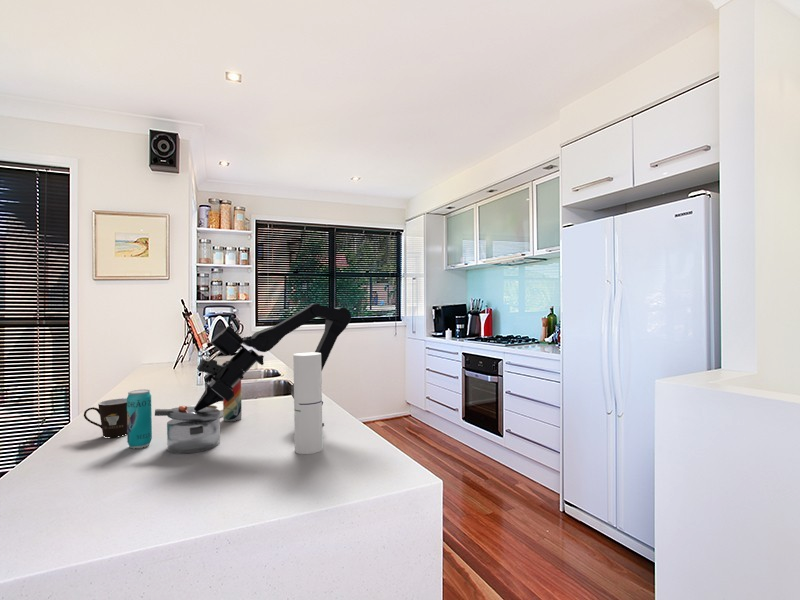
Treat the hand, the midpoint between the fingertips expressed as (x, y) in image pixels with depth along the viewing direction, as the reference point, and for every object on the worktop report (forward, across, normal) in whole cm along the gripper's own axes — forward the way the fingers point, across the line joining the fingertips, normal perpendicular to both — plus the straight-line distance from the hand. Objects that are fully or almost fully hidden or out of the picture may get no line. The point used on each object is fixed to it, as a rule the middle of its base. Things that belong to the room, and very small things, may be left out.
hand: (195, 410), depth 119 cm
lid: (+2, 0, 0) cm, 2 cm away
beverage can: (+16, -8, -2) cm, 18 cm away
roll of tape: (+3, -35, +11) cm, 37 cm away
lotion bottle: (-2, -23, +16) cm, 28 cm away
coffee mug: (+22, -24, -8) cm, 34 cm away
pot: (+7, 0, +7) cm, 10 cm away
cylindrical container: (-11, +20, +25) cm, 34 cm away
